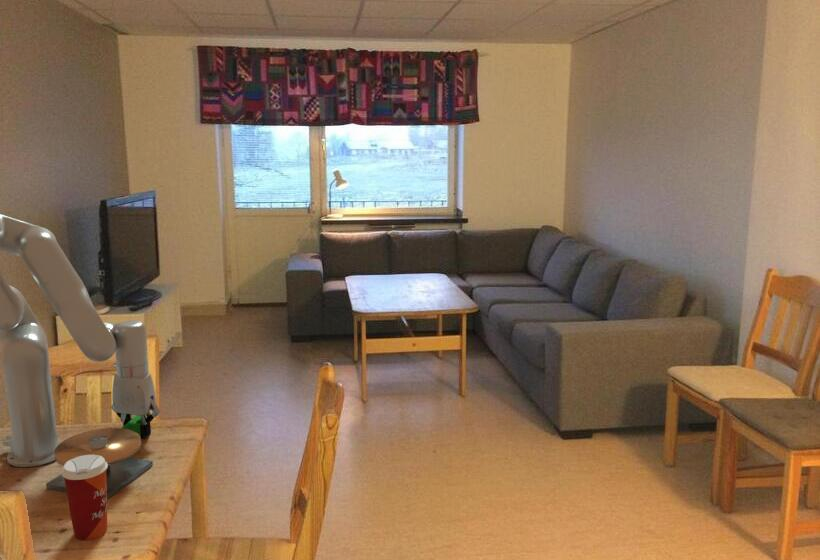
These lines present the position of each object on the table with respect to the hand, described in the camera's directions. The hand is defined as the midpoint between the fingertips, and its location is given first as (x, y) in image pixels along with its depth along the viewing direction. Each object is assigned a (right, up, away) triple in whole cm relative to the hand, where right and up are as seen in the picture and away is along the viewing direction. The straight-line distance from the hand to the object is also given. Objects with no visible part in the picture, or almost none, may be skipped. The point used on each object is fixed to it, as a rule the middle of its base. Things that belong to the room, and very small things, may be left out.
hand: (137, 435), depth 182 cm
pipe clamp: (0, -1, 0) cm, 1 cm away
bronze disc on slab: (0, -5, -20) cm, 21 cm away
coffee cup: (+7, -10, -42) cm, 44 cm away
